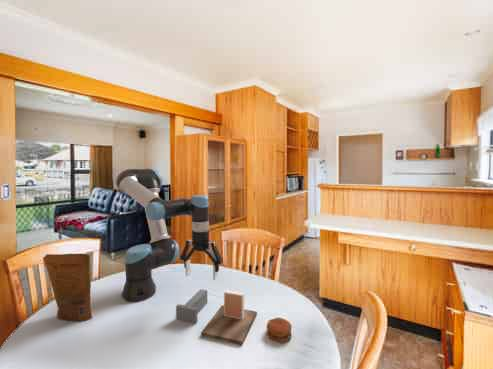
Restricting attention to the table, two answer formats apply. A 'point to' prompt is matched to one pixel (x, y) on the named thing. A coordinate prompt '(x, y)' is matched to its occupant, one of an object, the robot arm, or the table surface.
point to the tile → (234, 304)
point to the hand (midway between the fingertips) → (201, 276)
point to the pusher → (192, 308)
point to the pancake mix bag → (70, 285)
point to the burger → (279, 330)
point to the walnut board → (229, 327)
